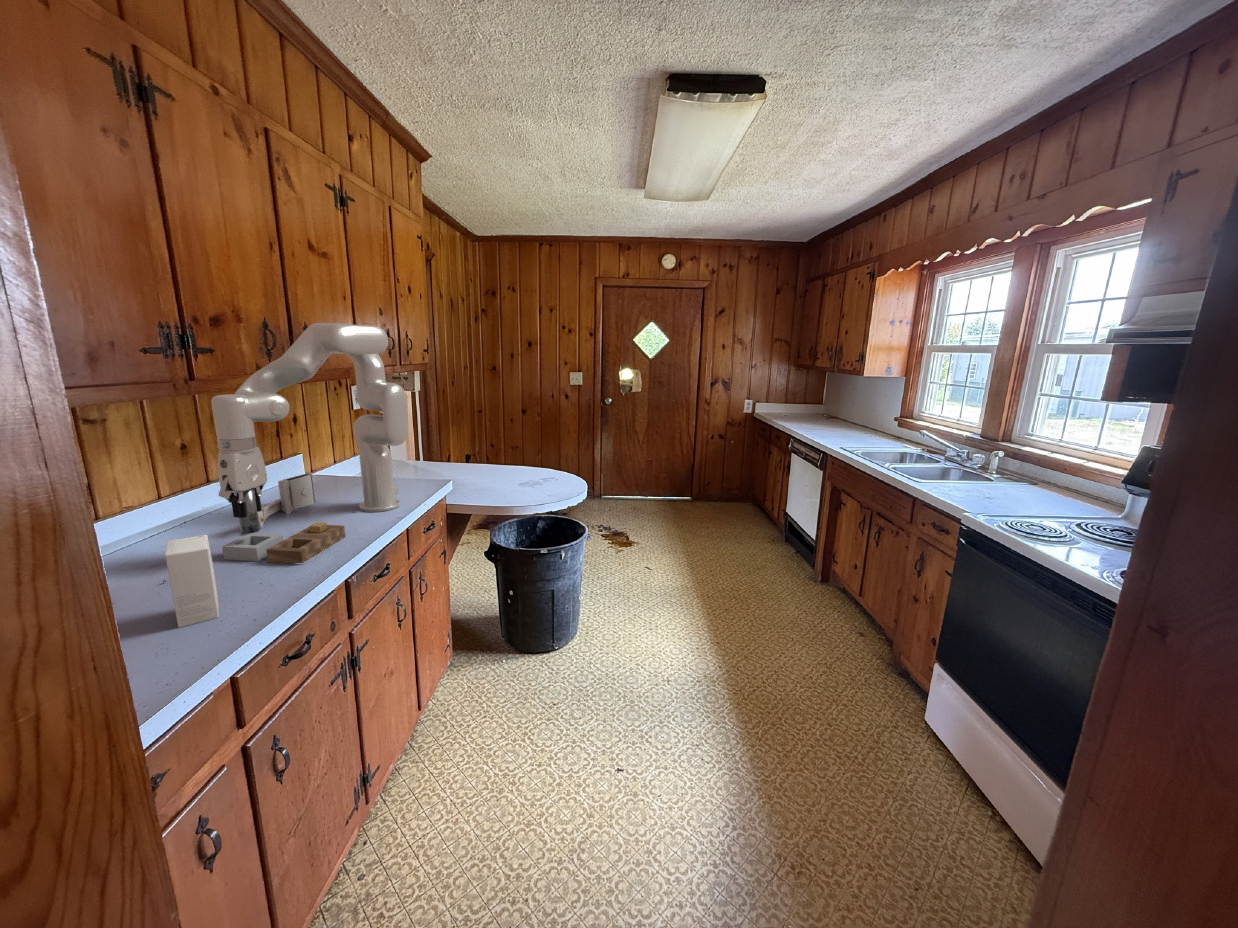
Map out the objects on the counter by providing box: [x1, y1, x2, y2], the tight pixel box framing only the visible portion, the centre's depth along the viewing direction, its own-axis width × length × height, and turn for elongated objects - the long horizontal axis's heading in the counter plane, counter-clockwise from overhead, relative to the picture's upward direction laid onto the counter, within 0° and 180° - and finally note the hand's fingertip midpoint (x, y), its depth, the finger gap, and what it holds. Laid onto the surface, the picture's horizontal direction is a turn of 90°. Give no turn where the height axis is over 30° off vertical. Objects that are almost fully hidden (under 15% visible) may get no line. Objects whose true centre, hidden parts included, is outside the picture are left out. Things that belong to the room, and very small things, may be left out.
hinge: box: [277, 473, 316, 516], centre depth 161 cm, size 14×5×10 cm, turn 177°
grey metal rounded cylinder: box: [235, 488, 261, 535], centre depth 124 cm, size 4×4×12 cm
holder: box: [221, 532, 284, 562], centre depth 127 cm, size 9×9×4 cm
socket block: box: [266, 524, 346, 564], centre depth 130 cm, size 18×9×4 cm, turn 177°
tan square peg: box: [308, 521, 328, 534], centre depth 134 cm, size 3×3×5 cm
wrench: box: [258, 497, 282, 530], centre depth 151 cm, size 8×2×30 cm
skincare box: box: [164, 534, 220, 628], centre depth 97 cm, size 8×7×16 cm
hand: (248, 513), depth 124 cm, fingers closed on grey metal rounded cylinder, 4 cm apart
